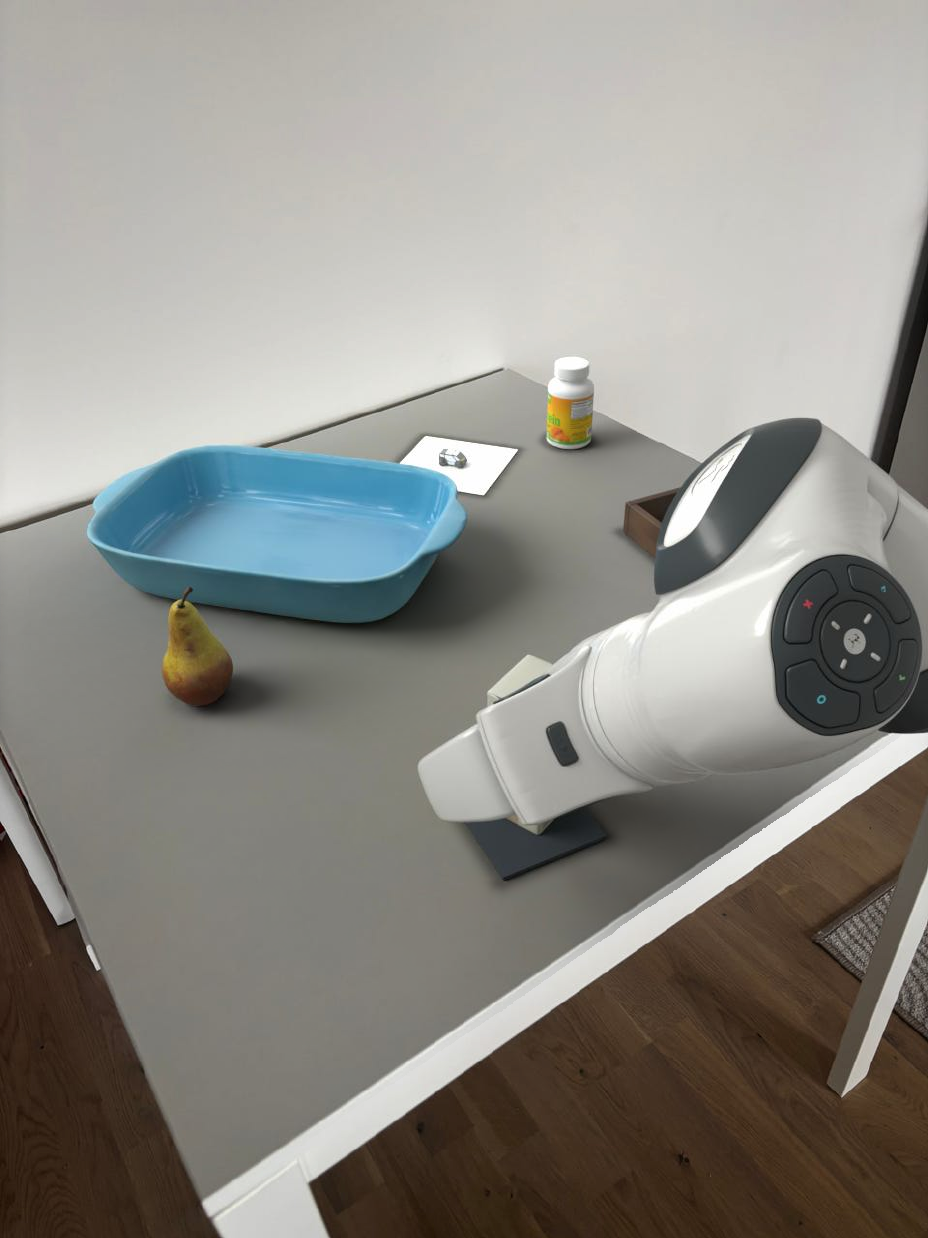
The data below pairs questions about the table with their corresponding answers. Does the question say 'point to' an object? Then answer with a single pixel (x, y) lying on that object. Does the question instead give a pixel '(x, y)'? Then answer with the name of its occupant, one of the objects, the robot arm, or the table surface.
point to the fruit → (194, 657)
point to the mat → (534, 841)
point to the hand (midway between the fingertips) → (528, 737)
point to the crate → (647, 518)
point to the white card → (461, 462)
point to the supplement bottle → (570, 404)
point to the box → (509, 683)
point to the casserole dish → (278, 530)
